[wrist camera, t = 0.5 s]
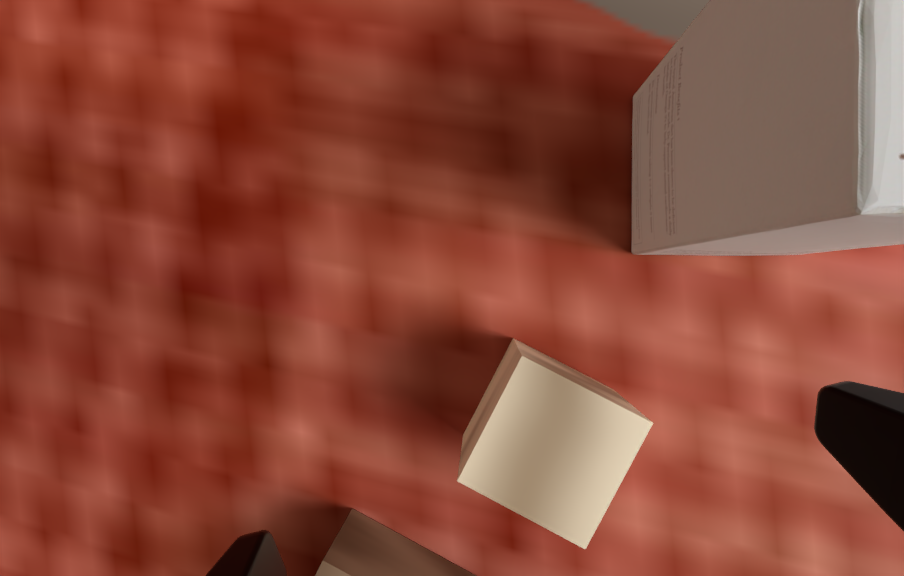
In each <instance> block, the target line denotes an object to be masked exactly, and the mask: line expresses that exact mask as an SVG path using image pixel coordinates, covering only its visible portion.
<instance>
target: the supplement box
mask: <svg viewBox="0 0 904 576" xmlns="http://www.w3.org/2000/svg"><path fill="white" fill-rule="evenodd" d="M899 244H904V0H710V1H709V2H708V3H707V4H706V6H705V7H704V8H703V9H702V11H701V12H700V13H699V15H698V16H697V17H696V18H695V19H694V21H693V22H692V23H691V24H690V26H689V27H688V28H687V30H686V31H685V32H684V33H683V34H682V36H681V37H680V38H679V40H678V41H677V42H676V43H675V44H674V46H673V47H672V48H671V50H670V51H669V52H668V53H667V54H666V56H665V57H664V58H663V59H662V61H661V62H660V63H659V64H658V66H657V67H656V68H655V69H654V70H653V72H652V73H651V74H650V75H649V77H648V78H647V79H646V81H645V82H644V83H643V84H642V86H641V87H640V88H639V89H638V91H637V92H636V93H635V94H634V96H633V118H632V249H631V252H632V254H641V255H710V256H752V255H801V254H809V253H818V252H828V251H837V250H847V249H857V248H867V247H878V246H889V245H899Z"/></svg>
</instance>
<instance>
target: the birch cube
mask: <svg viewBox="0 0 904 576" xmlns="http://www.w3.org/2000/svg"><path fill="white" fill-rule="evenodd" d="M652 424H653V422H651V421H650V420H649V419H648V418H647V417H645V416H644V415H643V414H642V413H641V412H639V411H638V410H637V409H636V408H635V407H634V406H632V405H631V404H630V403H629V402H628V401H626V400H625V399H624V398H623V397H622V396H620V395H619V394H618V393H617V392H616V391H614V390H613V389H611V388H610V387H608V386H606V385H604V384H602V383H600V382H598V381H596V380H594V379H592V378H590V377H588V376H586V375H584V374H582V373H580V372H578V371H576V370H574V369H572V368H570V367H568V366H567V365H565V364H563V363H561V362H559V361H557V360H555V359H553V358H551V357H549V356H547V355H545V354H543V353H541V352H539V351H537V350H535V349H533V348H531V347H529V346H527V345H525V344H524V343H522V342H520V341H518V340H516V339H514V338H513V339H512V341H511V343H510V345H509V347H508V349H507V351H506V353H505V355H504V356H503V358H502V360H501V362H500V364H499V366H498V368H497V370H496V372H495V374H494V376H493V378H492V380H491V382H490V384H489V386H488V388H487V389H486V391H485V393H484V395H483V397H482V399H481V401H480V403H479V405H478V407H477V409H476V411H475V413H474V415H473V417H472V419H471V420H470V422H469V424H468V426H467V428H466V430H465V432H464V434H463V439H462V447H461V455H460V463H459V471H458V478H457V481H458V482H460V483H462V484H463V485H465V486H467V487H469V488H471V489H473V490H475V491H477V492H478V493H480V494H482V495H484V496H486V497H488V498H490V499H492V500H493V501H495V502H497V503H499V504H501V505H503V506H505V507H507V508H508V509H510V510H512V511H514V512H516V513H518V514H520V515H522V516H523V517H525V518H527V519H529V520H531V521H533V522H535V523H537V524H539V525H540V526H542V527H544V528H546V529H548V530H550V531H552V532H554V533H555V534H557V535H559V536H561V537H563V538H565V539H567V540H569V541H570V542H572V543H574V544H576V545H578V546H580V547H582V548H584V549H586V547H587V546H588V544H589V542H590V540H591V538H592V536H593V534H594V532H595V531H596V529H597V527H598V525H599V523H600V521H601V519H602V518H603V516H604V514H605V512H606V510H607V508H608V506H609V504H610V503H611V501H612V499H613V497H614V495H615V493H616V491H617V490H618V488H619V486H620V484H621V482H622V480H623V478H624V477H625V475H626V473H627V471H628V469H629V467H630V465H631V463H632V462H633V460H634V458H635V456H636V454H637V452H638V450H639V449H640V447H641V445H642V443H643V441H644V439H645V437H646V436H647V434H648V432H649V430H650V428H651V426H652Z"/></svg>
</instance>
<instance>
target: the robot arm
mask: <svg viewBox="0 0 904 576" xmlns="http://www.w3.org/2000/svg"><path fill="white" fill-rule="evenodd" d="M814 429H815V434H816V436H817V438H818V440H819V441H820V443H821V444H822V445H823V446H824V447H825V448H826V449H827V450H828V451H829V453H830V454H831V455H832V456H833V457H834V458H835V459H836V460H837V461H838V462H839V463H840V464H841V465H842V466H843V468H844V469H845V470H846V471H847V472H848V473H849V474H850V475H851V476H852V477H853V478H854V479H855V480H856V482H857V483H858V484H859V485H860V486H861V487H862V488H863V489H864V490H865V491H866V492H867V493H868V494H869V495H870V497H871V498H872V499H873V500H874V501H875V502H876V503H877V504H878V505H879V506H880V507H881V508H882V509H883V511H884V512H885V513H886V514H887V515H888V516H889V517H890V518H891V519H892V520H893V521H894V522H895V523H896V524H897V525H898V526H899V527H900V528H901V529H902V530H903V531H904V393H900V392H896V391H891V390H887V389H882V388H878V387H873V386H869V385H864V384H860V383H855V382H850V381H844V382H839V383H835V384H831V385H827V386H824V387H823V388H821V389H820V391H819V392H818V397H817V406H816V415H815V424H814ZM206 576H287V572H286V568H285V565H284V563H283V561H282V558H281V556H280V553H279V551H278V548H277V546H276V544H275V541H274V539H273V536H272V535H271V533H270V532H269V531H267V530H261V531H258V532H254V533H250V534H246V535H243V536H240V537H239V538H238V539H237V540H236V541H235V542H234V543H233V544H232V545H231V546H230V547H229V549H228V550H227V551H226V552H225V553H224V555H223V556H222V557H221V558H220V559H219V560H218V562H217V563H216V564H215V565H214V566H213V567H212V569H211V570H210V571H209V572H208V573H207V575H206Z"/></svg>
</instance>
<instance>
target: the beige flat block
mask: <svg viewBox="0 0 904 576" xmlns="http://www.w3.org/2000/svg"><path fill="white" fill-rule="evenodd" d="M315 576H476V575H474V574H472V573H470V572H468V571H466V570H465V569H463V568H461V567H459V566H457V565H455V564H454V563H452V562H450V561H448V560H446V559H444V558H443V557H441V556H439V555H437V554H435V553H433V552H431V551H430V550H428V549H426V548H424V547H422V546H420V545H419V544H417V543H415V542H413V541H411V540H409V539H408V538H406V537H404V536H402V535H400V534H398V533H396V532H395V531H393V530H391V529H389V528H387V527H385V526H384V525H382V524H380V523H378V522H376V521H374V520H372V519H371V518H369V517H367V516H365V515H363V514H361V513H360V512H358V511H356V510H354V509H352V510H351V512H350V513H349V515H348V517H347V519H346V520H345V522H344V524H343V526H342V527H341V529H340V531H339V533H338V534H337V536H336V538H335V540H334V541H333V543H332V545H331V547H330V548H329V550H328V552H327V554H326V555H325V557H324V559H323V561H322V563H321V565H320V567H319V569H318V571H317V573H316V575H315Z"/></svg>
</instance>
